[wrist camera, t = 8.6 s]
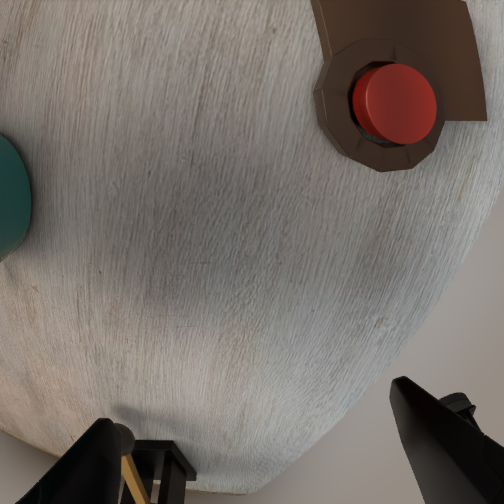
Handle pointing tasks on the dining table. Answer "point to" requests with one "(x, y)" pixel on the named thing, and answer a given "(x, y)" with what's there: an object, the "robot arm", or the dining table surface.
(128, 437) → the switch lever
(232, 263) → the dining table surface
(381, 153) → the button block
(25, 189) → the cup
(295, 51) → the dining table surface
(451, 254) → the dining table surface
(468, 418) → the robot arm
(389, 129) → the button
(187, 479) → the switch bracket
